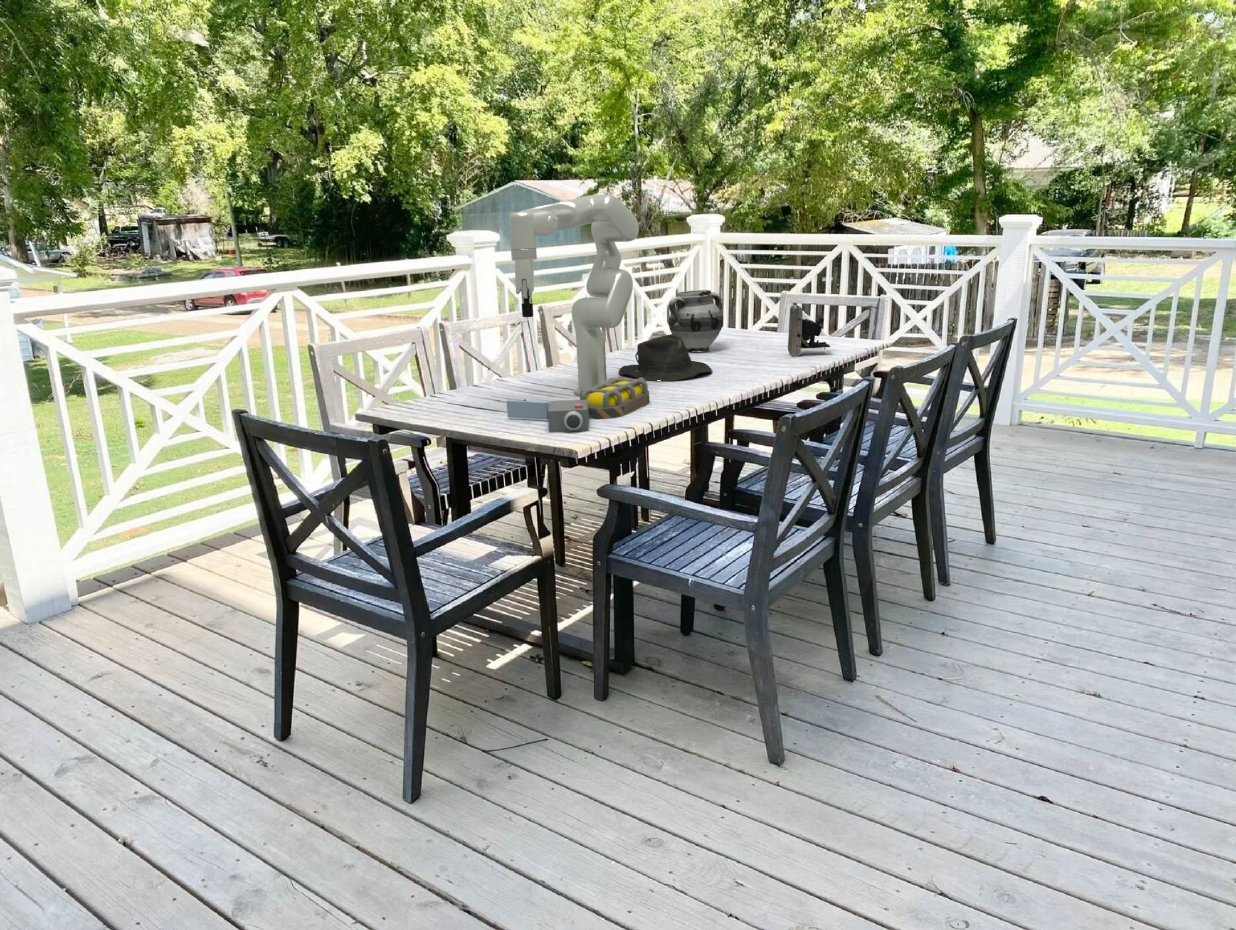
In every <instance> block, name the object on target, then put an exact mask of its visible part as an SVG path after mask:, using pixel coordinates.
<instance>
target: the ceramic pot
mask: <svg viewBox="0 0 1236 930" xmlns="http://www.w3.org/2000/svg"><path fill="white" fill-rule="evenodd" d="M668 302H669V303H668V309H669V315H668V319H667V321H668V323H667V324H668V328H669V331H670V333H671V334H676V335H678V336H679V337H681V338H682V339H683V341H684V344H685V347H686V349H687V351H706V352H708V351H709V350H710V347H711V345H712V344H713V343H714V342H715V341H716V340H717V338H718V337H719V335H720V333H721V331H722V329H723V326H724V317H723V315H724V314H723V313H722V311H721V309H722V300H721V296H720V294H718V293H717V292H716V291H715V292H712V290H711V289H696V290H685V291H679V292H676V296H675V297H673V298H671V300H670V301H668ZM707 350H708V351H707Z"/></svg>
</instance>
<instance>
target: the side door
mask: <svg viewBox="0 0 1236 930" xmlns="http://www.w3.org/2000/svg"><path fill="white" fill-rule="evenodd" d="M550 403H551V401H533V400H532V401H530V400H528V401H527V400H513V399H512V400H511V399H510V400H506V411H507V418H513V419H528V420H529V419H530V420H531V419H533V420H547V421H548V410H549V406H550Z"/></svg>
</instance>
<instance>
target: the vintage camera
mask: <svg viewBox="0 0 1236 930" xmlns="http://www.w3.org/2000/svg"><path fill="white" fill-rule="evenodd" d="M824 321H825V319H824V318H823V317H818V321H817V322H816V321H814V320H810V319H808V318H805V319H804V318H803V308H802V307H801V306H799V305H798V304H797V303H793V304H792V305H791V306H790V307H789V321H788V339H787V340H788V342H787V351H788V352H789V354H790V353H791V354H790V355H791V356H793V357H794V356H797V357H799V356H800V354H801V351H802V350H801V349H822V348H824V349H826V348H831V345H830V344H829V343H827V342H826V341H821V342H820V340H816V337H820V335H821V333H822V330H823V327H824V325H821V324H823V323H824ZM815 340H816V341H815ZM808 341H809V342H808Z"/></svg>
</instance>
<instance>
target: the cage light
mask: <svg viewBox="0 0 1236 930" xmlns="http://www.w3.org/2000/svg"><path fill="white" fill-rule="evenodd" d="M648 387H649V386H648V383H647V381H645V379H644V378H641V377H640V378H639V379H637V378H625V377H623V375H618V376H617V377H611V378H609V379H608V380H607V382H604V383H597V384H596V385H595V386H594V387H591V388H584V389H582V390H581V392H580V395H579V400H586V399H588V404H589V420H608V419H617V418H620V417H621V418H622V417H624V416H626V415H628V414H631V413H633V412H635V411H637V410H639V409H641V408H643V407H645V406H647V405H649V404H650V391H649V390H648V389H649V388H648ZM602 388H603V389H602ZM589 393H591V394H589ZM587 394H589V395H588V396H586V395H587Z"/></svg>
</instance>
